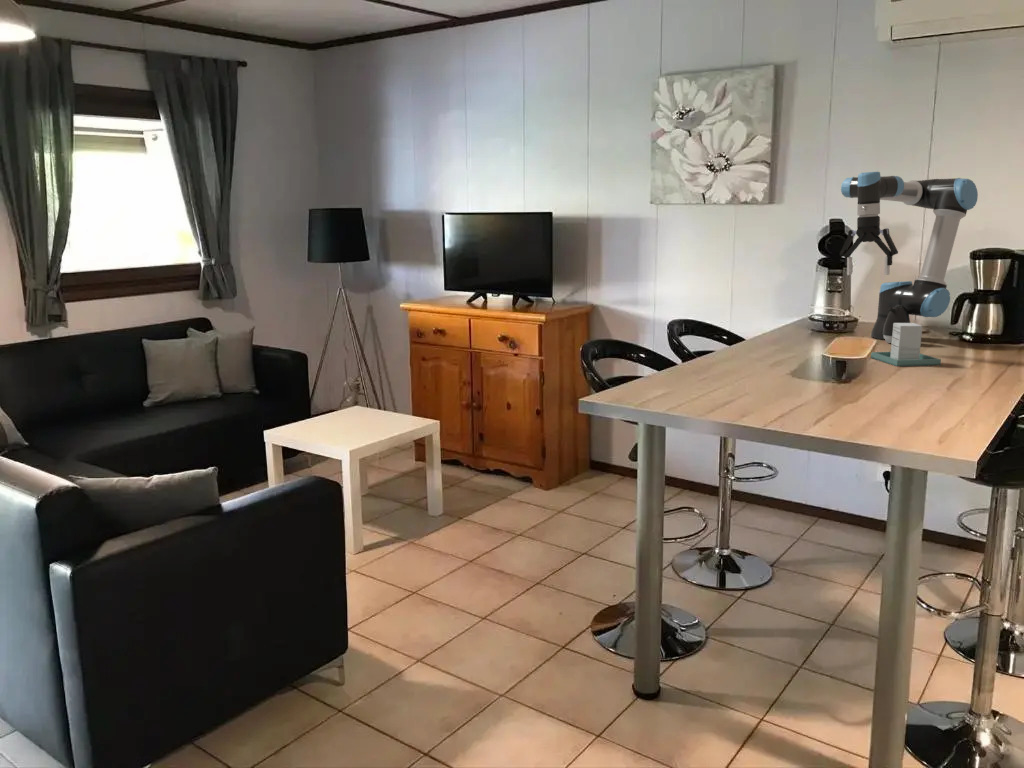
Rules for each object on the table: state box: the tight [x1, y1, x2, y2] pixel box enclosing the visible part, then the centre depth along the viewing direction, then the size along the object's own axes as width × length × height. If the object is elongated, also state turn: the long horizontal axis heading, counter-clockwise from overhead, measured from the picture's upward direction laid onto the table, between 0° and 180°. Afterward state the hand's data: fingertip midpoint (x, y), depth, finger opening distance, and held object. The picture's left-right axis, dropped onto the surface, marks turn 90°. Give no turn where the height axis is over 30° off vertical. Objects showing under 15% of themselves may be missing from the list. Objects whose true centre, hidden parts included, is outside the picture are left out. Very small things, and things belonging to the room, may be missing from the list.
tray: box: [870, 351, 942, 367], centre depth 291 cm, size 16×16×2 cm
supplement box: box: [890, 322, 923, 360], centre depth 290 cm, size 7×7×13 cm
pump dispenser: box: [883, 305, 911, 345], centre depth 327 cm, size 10×10×15 cm
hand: (867, 274), depth 306 cm, fingers open, 13 cm apart
